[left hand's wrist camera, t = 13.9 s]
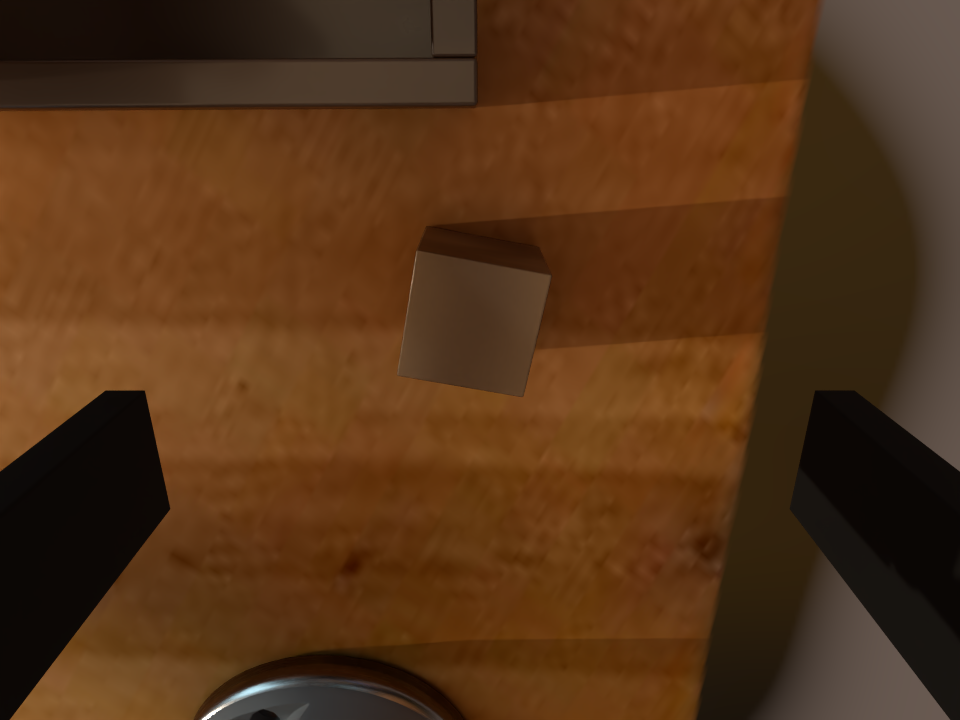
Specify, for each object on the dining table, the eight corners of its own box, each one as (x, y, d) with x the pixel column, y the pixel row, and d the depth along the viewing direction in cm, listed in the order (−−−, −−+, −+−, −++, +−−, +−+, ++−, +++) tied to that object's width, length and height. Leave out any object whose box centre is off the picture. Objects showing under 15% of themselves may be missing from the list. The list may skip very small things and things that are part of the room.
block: (539, 247, 24) (552, 274, 20) (515, 352, 26) (523, 397, 22) (426, 225, 24) (416, 249, 20) (409, 333, 25) (396, 375, 21)
